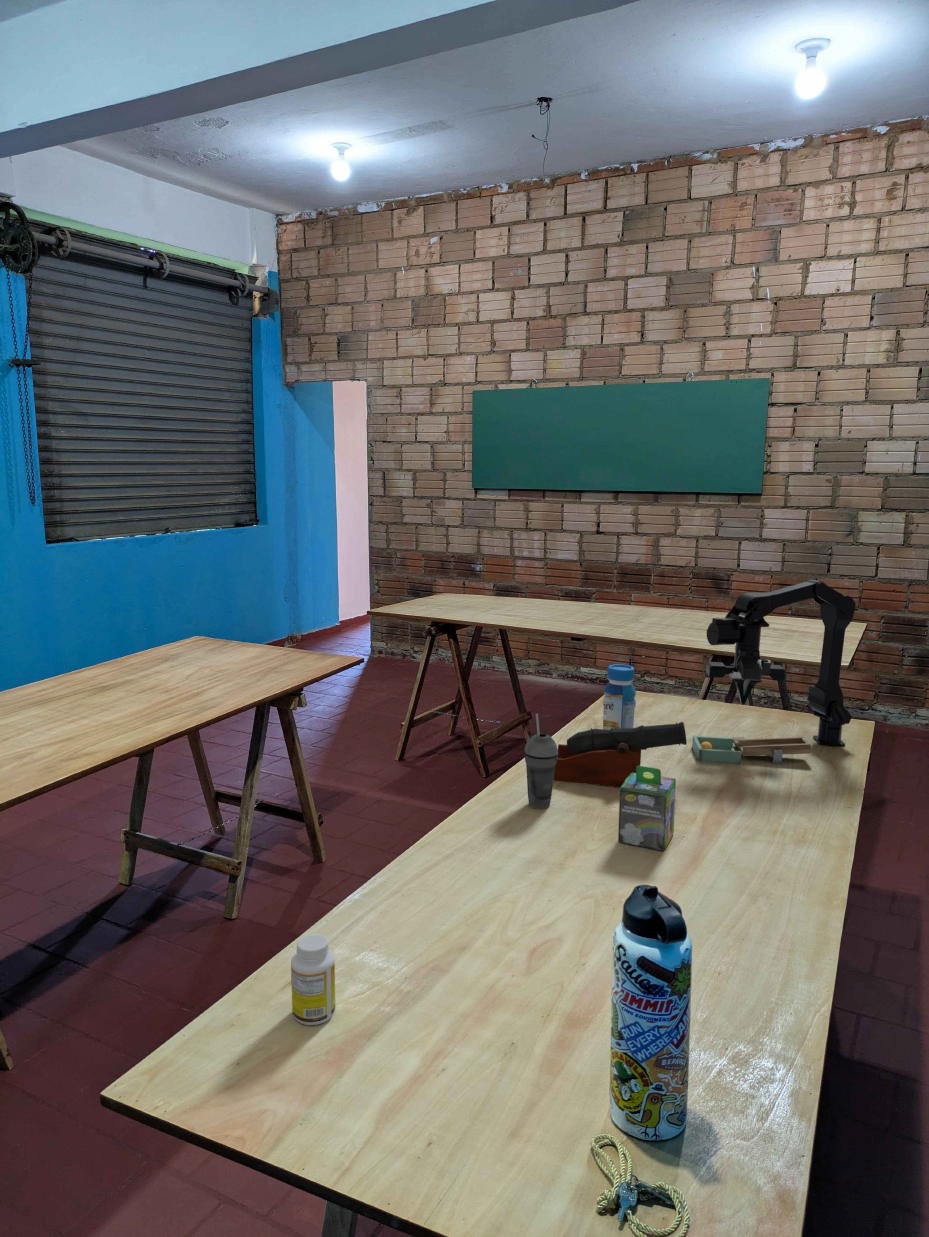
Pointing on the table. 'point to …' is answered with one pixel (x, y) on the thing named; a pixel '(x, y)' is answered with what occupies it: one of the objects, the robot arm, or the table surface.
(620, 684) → the beverage bottle
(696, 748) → the tray
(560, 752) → the cannon model
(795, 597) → the robot arm
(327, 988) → the supplement bottle
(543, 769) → the beverage cup
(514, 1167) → the table surface
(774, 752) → the fulcrum
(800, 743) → the chute
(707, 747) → the ball
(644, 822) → the chalk box
